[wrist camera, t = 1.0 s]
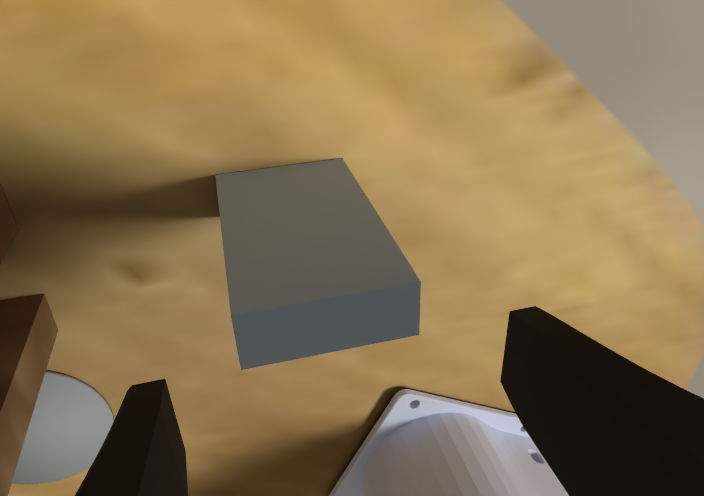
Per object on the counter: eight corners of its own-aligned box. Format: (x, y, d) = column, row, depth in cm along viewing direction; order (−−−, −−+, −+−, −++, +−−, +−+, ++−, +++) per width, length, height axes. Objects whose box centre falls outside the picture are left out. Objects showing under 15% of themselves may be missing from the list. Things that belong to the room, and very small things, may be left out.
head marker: (130, 460, 25) (129, 464, 24) (-23, 494, 23) (-24, 498, 23) (91, 355, 21) (91, 358, 21) (-86, 388, 20) (-88, 391, 20)
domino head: (344, 199, 21) (419, 334, 14) (222, 216, 20) (240, 369, 13) (342, 158, 20) (420, 281, 13) (215, 174, 19) (230, 315, 13)
